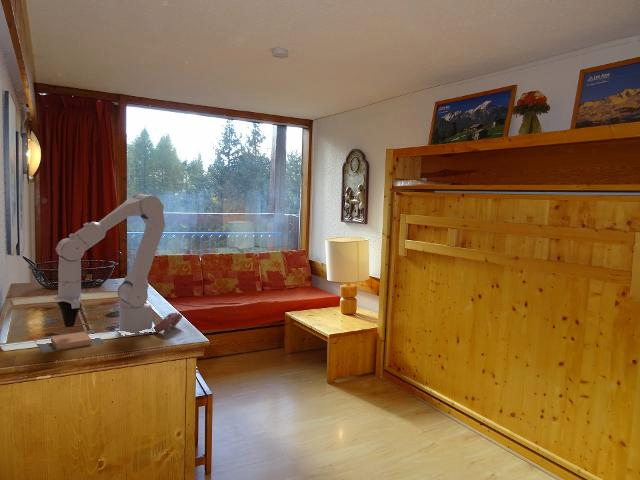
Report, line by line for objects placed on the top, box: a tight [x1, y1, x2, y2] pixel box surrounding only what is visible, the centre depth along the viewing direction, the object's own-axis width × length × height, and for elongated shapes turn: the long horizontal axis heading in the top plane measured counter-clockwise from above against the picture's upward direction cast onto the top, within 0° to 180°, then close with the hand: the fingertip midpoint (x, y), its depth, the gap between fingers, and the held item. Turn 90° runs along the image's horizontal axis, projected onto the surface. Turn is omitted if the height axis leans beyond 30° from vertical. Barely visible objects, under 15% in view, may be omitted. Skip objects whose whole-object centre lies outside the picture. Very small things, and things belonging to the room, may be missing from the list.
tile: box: [51, 331, 92, 350], centre depth 134 cm, size 9×2×7 cm
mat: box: [33, 329, 106, 354], centre depth 135 cm, size 16×13×1 cm
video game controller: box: [152, 311, 183, 334], centre depth 152 cm, size 10×5×7 cm, turn 167°
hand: (69, 326), depth 135 cm, fingers closed
